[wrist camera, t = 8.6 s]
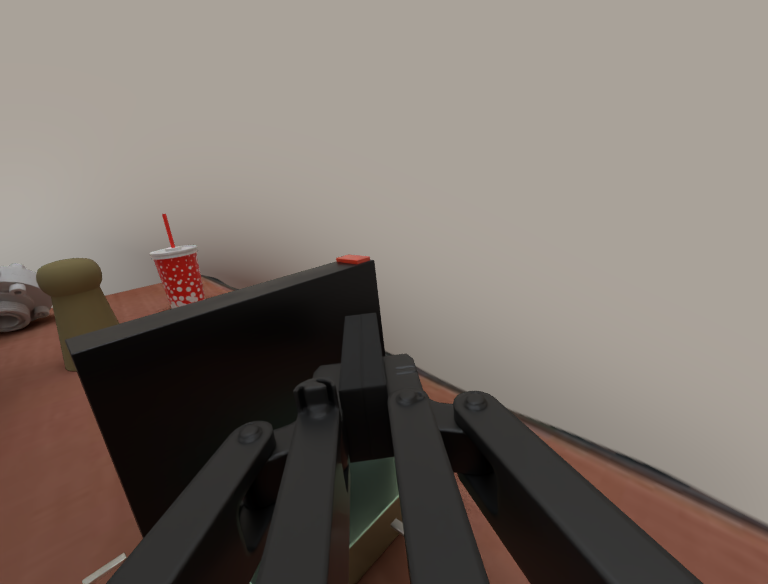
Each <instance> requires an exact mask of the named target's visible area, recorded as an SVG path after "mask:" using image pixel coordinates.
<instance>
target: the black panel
mask: <svg viewBox="0 0 768 584" xmlns="http://www.w3.org/2000/svg"><path fill="white" fill-rule="evenodd" d="M336 260H337V262H333V263H330V264H326V265H323V266H319V267H316V268H312V269H309V270H305V271H302V272H298V273H295V274H292V275H288V276H284V277H281V278H277V279H274V280H271V281H267V282H264V283H260V284H257V285H253V286H250V287H246V288H243V289H239V290H236V291H232V292H229V293H225V294H222V295H218V296H215V297H211V298H208V299H204V300H201V301H197V302H194V303H191V304H187V305H184V306H180V307H177V308H173V309H170V310H166V311H163V312H159V313H156V314H152V315H149V316H145V317H142V318H138V319H135V320H131V321H128V322H124V323H121V324H117V325H114V326H111V327H107V328H104V329H100V330H97V331H93V332H90V333H86V334H83V335H79V336H76V337H72V338H69V339H66V340H65V343H66V346H67V348H68V351H69V353H70V356H71V358H72V361H73V363H74V366H75V368H76V371H77V373H78V376H79V378H80V381H81V383H82V386H83V388H84V391H85V394H86V396H87V399H88V401H89V404H90V406H91V409H92V411H93V414H94V416H95V419H96V421H97V424H98V426H99V429H100V431H101V434H102V436H103V439H104V441H105V444H106V447H107V449H108V452H109V454H110V457H111V459H112V462H113V464H114V467H115V469H116V472H117V474H118V477H119V479H120V482H121V484H122V487H123V489H124V492H125V494H126V497H127V500H128V502H129V505H130V507H131V510H132V512H133V515H134V517H135V520H136V522H137V525H138V527H139V530H140V532H141V534H142V537H143V538H144V537H145V536H146V535H147V534H148V532H149V531H150V530H151V529H152V528H153V526H154V525H155V524H156V523H157V522H158V520H159V519H160V518H161V517H162V516H163V514H164V513H165V512H166V511H167V510H168V508H169V507H170V506H171V505H172V504H173V502H174V501H175V500H176V499H177V498H178V496H179V495H180V494H181V493H182V492H183V490H184V489H185V488H186V487H187V486H188V484H189V483H190V482H191V481H192V480H193V478H194V477H195V476H196V475H197V473H198V472H199V471H200V470H201V469H202V467H203V466H204V465H205V464H206V463H207V461H208V460H209V459H210V458H211V457H212V455H213V454H214V453H215V452H216V451H217V449H218V448H219V447H220V446H221V445H222V443H223V442H224V441H225V440H226V439H227V437H228V436H229V435H230V434H231V433H232V432H233V431H234V430H235V429H237V428H238V427H240V426H242V425H244V424H246V423H249V422H253V421H266V422H269V423H270V424H271V425H272V428H273V430H275V429H278V428H281V427H284V426H286V425H289V424H291V423H293V422H294V421H296V420H297V416H298V412H297V407H296V402H295V397H294V392H293V391H294V389H295V388H296V386H298V385H299V384H300V383H302V382H304V381H306V380H308V379H312V378H313V374H314V372H315V371H316V370H317V369H318V368H319V366H321V365H329V364H337V363H341V356H342V345H343V334H344V322H345V316H352V315H360V314H368V313H376V315H377V322H378V329H379V336H380V343H381V350H382V357H384V356H385V349H384V341H383V332H382V324H381V315H380V306H379V298H378V290H377V280H376V272H375V263H374V260H370V257H367V256H358V255H345V256H342V257H338V258H337V259H336Z"/></svg>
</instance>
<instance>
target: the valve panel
mask: <svg viewBox="0 0 768 584" xmlns="http://www.w3.org/2000/svg"><path fill="white" fill-rule="evenodd" d="M348 463H349V469H350V475H351V477H350V532H349V584H356V583H357V582H358V581H359V580H360V578H361V577H362V576H363V575H364V574H365V573H366V571H367V570H368V569H369V568H370V567H371V566H372V565H373V563H374V562H375V561H376V560H377V559H378V558H379V556H380V555H381V554H382V553H383V552H384V551H385V550H386V548H387V547H388V546H389V545H390V544H391V543H392V541H393V540H394V539H395V538H396V537H397V536H398V534H401V535H402V536H404V530H403V523H402V515H401V507H400V500H399V492H398V486H397V477H396V469H395V461H394V457H390V458H382V459H375V460H368V461H361V462H354V463H350V459H349V460H348ZM126 559H127V557H126V555H125V553H122V554H121V555H119V556H118V557H116V558H115V559H113V560H112V561H110V562H109V563H108V564H106V565H105V566H103V567H102V568H100V569H99V570H97V571H96V572H94V573H93V574H91V575H90V576H88V577H87V578H85V579H84V580H82V583H83V584H94V583H95V582H97V581H98V580H100V579H101V578H102V577H104V576H105V575H107V574H108V573H110V572H111V571H113V570H114V569H116V568H117V567H119V566H120V565H121V564H123V563H124V561H125V560H126ZM261 560H262V559H261ZM260 564H261V561H260V563H259V565H258V567H257V569H256V571H255V573H254V575H253V577H252V579H251V581H250V583H249V584H256V580H257V576H258V572H259V568H260Z"/></svg>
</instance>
